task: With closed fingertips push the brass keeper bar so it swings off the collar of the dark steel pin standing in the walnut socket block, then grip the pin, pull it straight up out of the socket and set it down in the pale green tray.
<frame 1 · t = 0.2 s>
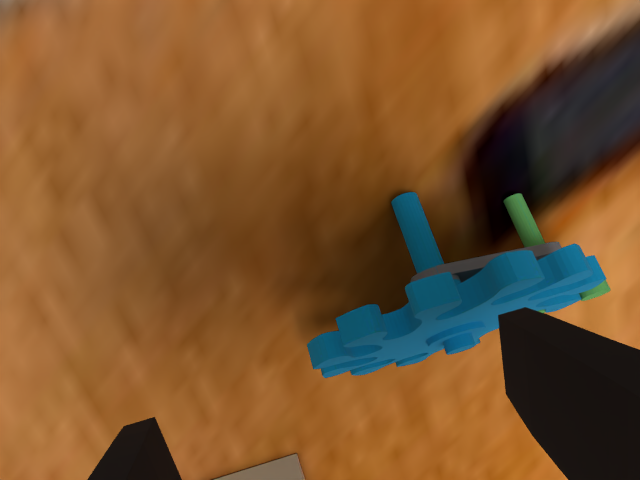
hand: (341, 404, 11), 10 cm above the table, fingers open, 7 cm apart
gear: (423, 270, 22), on the table
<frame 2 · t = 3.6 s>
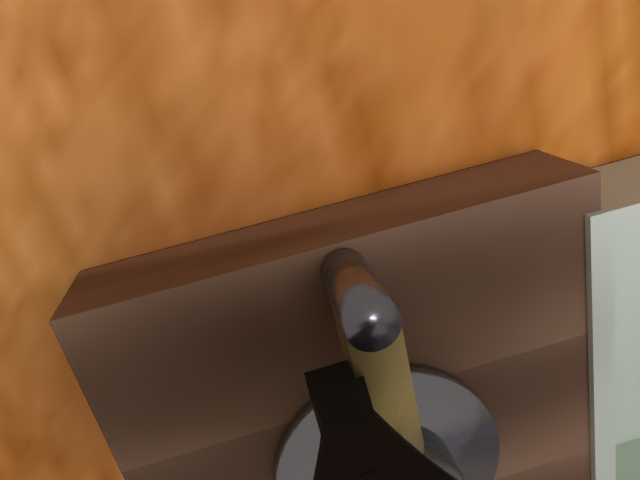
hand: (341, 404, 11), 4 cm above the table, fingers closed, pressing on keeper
socket block: (360, 396, 16), on the table
keeper: (371, 359, 11), point 4 cm above the table, hinge at 0.2°, touching gripper
pin: (393, 479, 13), in the socket block, touching gripper
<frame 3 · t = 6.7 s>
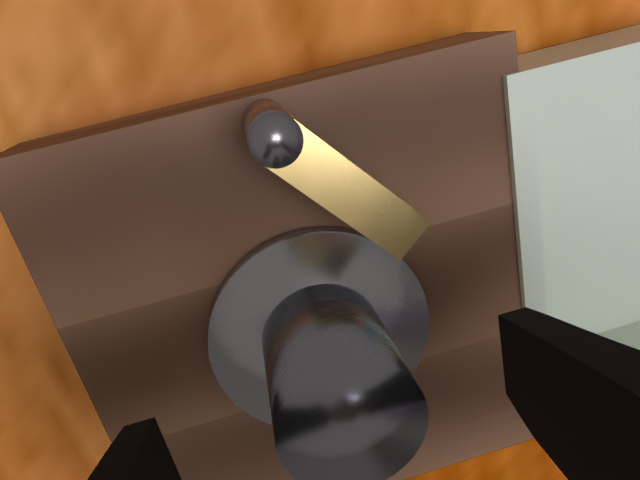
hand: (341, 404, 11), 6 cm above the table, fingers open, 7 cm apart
socket block: (304, 285, 16), on the table
keeper: (328, 173, 11), point 4 cm above the table, hinge at 40.0°
tray: (626, 195, 17), on the table
pin: (323, 341, 13), in the socket block
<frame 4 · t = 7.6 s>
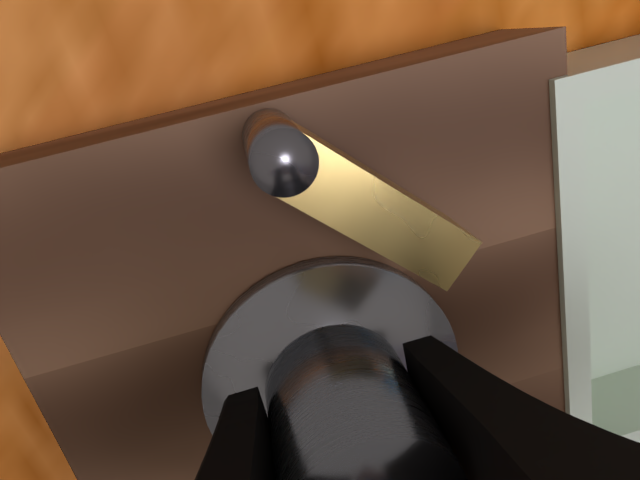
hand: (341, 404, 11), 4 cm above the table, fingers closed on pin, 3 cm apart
socket block: (311, 316, 14), on the table
keeper: (351, 192, 9), point 4 cm above the table, hinge at 45.1°
pin: (336, 390, 11), in the socket block, touching gripper
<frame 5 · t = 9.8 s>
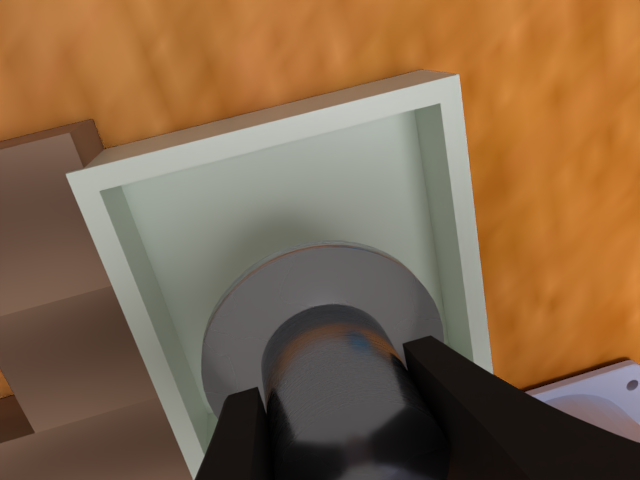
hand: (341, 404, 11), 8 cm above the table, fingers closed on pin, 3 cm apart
tray: (300, 261, 18), on the table
pin: (328, 366, 12), point 6 cm above the table, touching gripper
when the fingers open (5 cm above the table, at t = 10.5 s): pin stays where it is, resting on tray.
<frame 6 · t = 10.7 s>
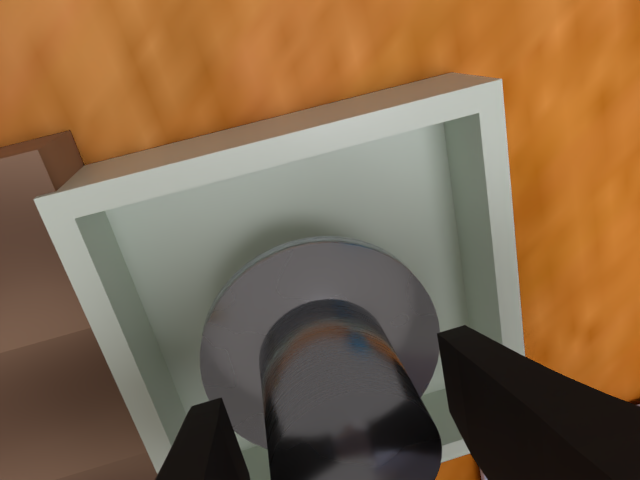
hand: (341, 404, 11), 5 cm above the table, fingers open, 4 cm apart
tray: (309, 290, 16), on the table
pin: (325, 361, 12), in the tray
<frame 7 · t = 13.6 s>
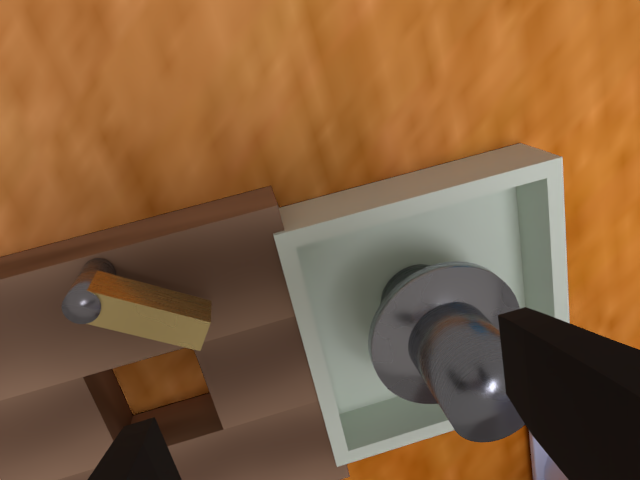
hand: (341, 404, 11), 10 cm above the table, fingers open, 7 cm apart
socket block: (163, 365, 21), on the table
keeper: (142, 302, 16), point 4 cm above the table, hinge at 55.4°
tray: (416, 292, 22), on the table
pin: (450, 341, 19), in the tray
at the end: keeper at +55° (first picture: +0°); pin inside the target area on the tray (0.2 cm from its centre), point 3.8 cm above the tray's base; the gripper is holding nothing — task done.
